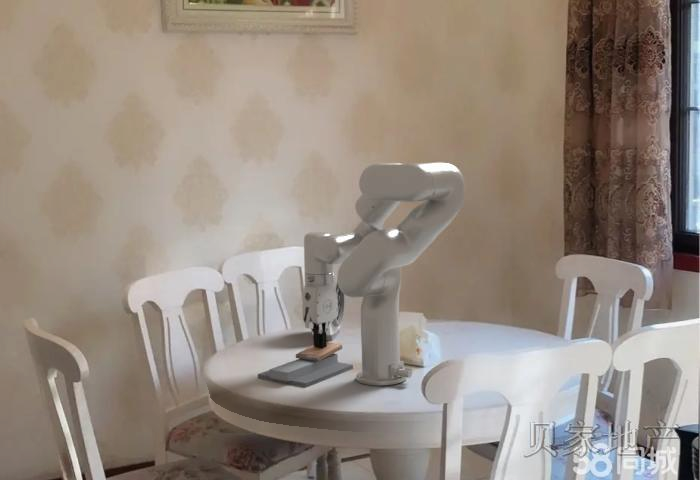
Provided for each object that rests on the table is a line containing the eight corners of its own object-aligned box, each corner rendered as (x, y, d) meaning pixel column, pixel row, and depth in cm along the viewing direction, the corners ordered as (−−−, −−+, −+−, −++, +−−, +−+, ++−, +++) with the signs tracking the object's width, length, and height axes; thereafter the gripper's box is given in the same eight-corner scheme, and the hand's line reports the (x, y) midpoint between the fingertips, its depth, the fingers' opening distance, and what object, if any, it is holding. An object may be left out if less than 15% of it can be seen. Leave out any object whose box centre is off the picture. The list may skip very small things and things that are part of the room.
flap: (316, 357, 215) (316, 362, 215) (341, 344, 224) (342, 348, 224) (295, 354, 219) (295, 358, 219) (321, 341, 228) (321, 345, 228)
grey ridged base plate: (353, 368, 220) (352, 356, 220) (304, 388, 204) (303, 375, 204) (305, 360, 230) (305, 349, 229) (255, 379, 213) (254, 366, 213)
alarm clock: (334, 343, 248) (332, 276, 245) (306, 343, 249) (304, 276, 247) (346, 330, 265) (344, 267, 263) (320, 329, 267) (318, 267, 264)
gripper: (312, 285, 212) (313, 355, 215) (347, 276, 224) (347, 342, 227) (289, 282, 217) (291, 351, 219) (324, 273, 229) (326, 339, 231)
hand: (320, 346), depth 223 cm, fingers closed
